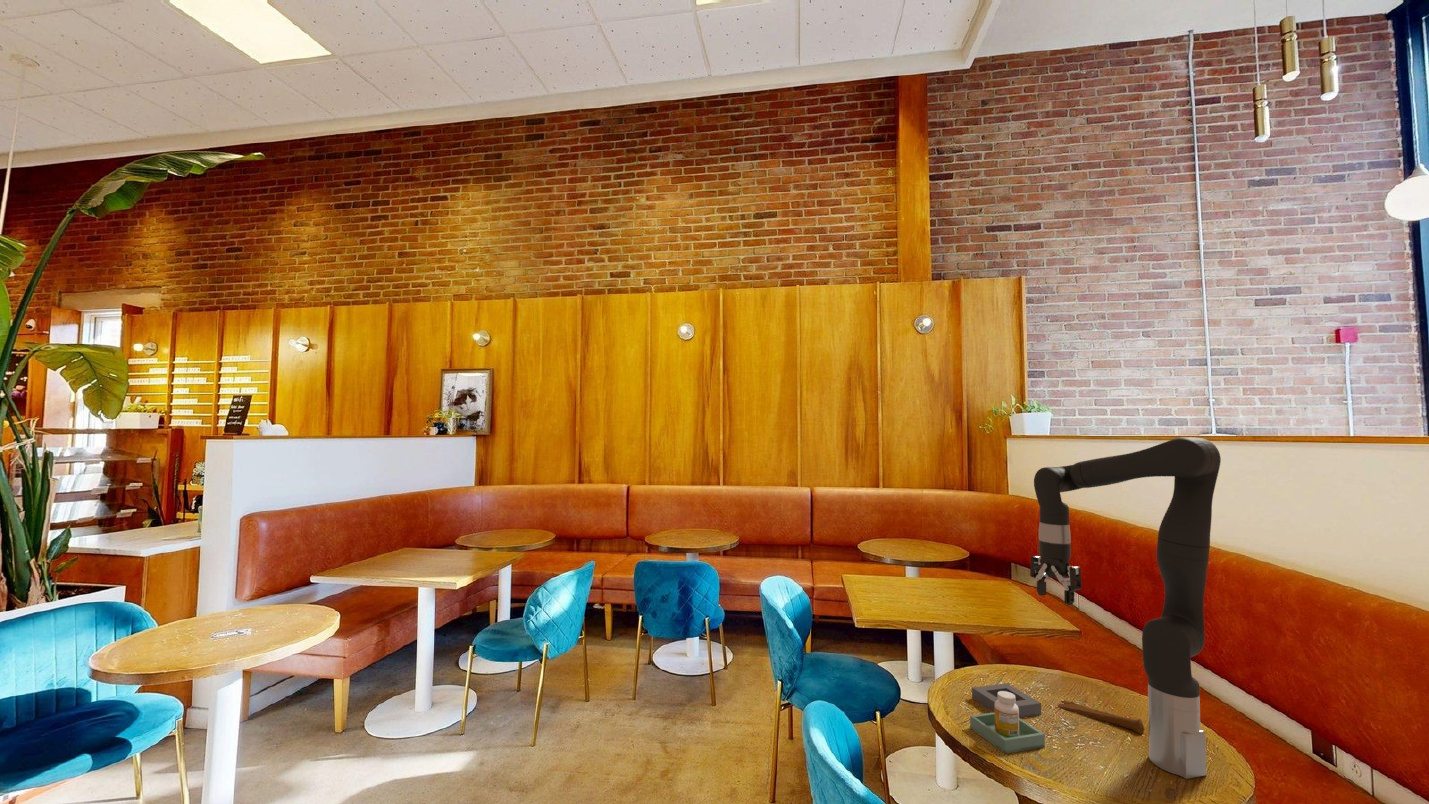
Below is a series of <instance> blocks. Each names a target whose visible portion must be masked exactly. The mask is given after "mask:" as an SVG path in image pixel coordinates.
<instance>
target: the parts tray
mask: <svg viewBox="0 0 1429 804" xmlns="http://www.w3.org/2000/svg"><path fill="white" fill-rule="evenodd" d="M969 716H970V717H969V720H970V721H969V728H970V729H971V730H972V731H974V732H975V733H976V734H978V735H979V736H981V737H982V738H983V739H985V740H986V741H987V742H989V744H992V745H993V746H994V745H995V746H994V747H995V748H997V749H998V748H999V749H998V750H999V751H1001V752H1002V751H1003V752H1002V753H1004V754H1005V753H1006V754H1011V753H1017V752H1022V751H1028V750H1029V751H1030V750H1034V749H1035V750H1036V749H1040V748H1045V747H1046V743H1045V742H1046V740H1045V739H1046V734H1045V733H1043V732H1042V731H1040V730H1039V729H1037V728H1036V727H1035V726H1032V725H1031V724H1030V723H1027V722H1026V721H1024V720H1023V719H1022V718H1019V736H1016V737H1010V738H1004V737H1003V736H1001V735H1000V734H999V733H997V732H996V731H995V712H988V713H980V714H975V715H974V714H973V715H969Z"/></svg>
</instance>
